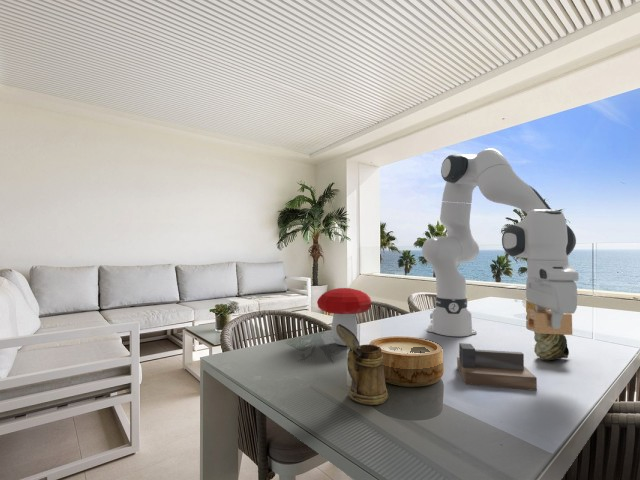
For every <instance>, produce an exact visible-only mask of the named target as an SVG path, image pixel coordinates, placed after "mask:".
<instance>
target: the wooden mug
mask: <svg viewBox="0 0 640 480" xmlns="http://www.w3.org/2000/svg"><path fill="white" fill-rule="evenodd" d="M336 331H337V334H338V336H339V337H340V338H341V340H342V341H343V342H344V343H345V344H346V345H345V346H347V348H349V350H348V353H347V358H346V359H347V361H346V366H347V371H348V373H349V377H350V378H351V384H350V386H349V391H348V397H349V399H351V400H352V401H354V402H355V403H356V404H360V405H364V406H378V405H382V404H384V403H385V402H387V401H388V399H389V392H388V389H387V387H386V379H385V377H386V376H385V372H384V362H385V361H384V355H383V353H382V348H381V347H380V346H379V345H376V344H375V345H374V344H361V345H360V341H359V339H358V336H357V337H356V336H355V335H354V334H353V333H352V332H351V331H350V330H349V329H347V328H346V327H344V326H342V325H341V324H338V325H337V326H336Z"/></svg>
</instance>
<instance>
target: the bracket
mask: <svg viewBox="0 0 640 480" xmlns="http://www.w3.org/2000/svg"><path fill="white" fill-rule="evenodd" d="M458 345H459V347H458V348H459V349H458V351H459V355H458V356H457V357H456V360H457V361H456V365H457V367H456V368H457V370H458V372H459V374H460V376H461V378H462V379H463V382H464V383H465V385H469V386H481V387H492V388H506V389H507V388H508V389H517V390H528V391H529V390H531V391H537V390H538V386H537V385H538V384H537V383H538V381H537V377H536V375H535V374H533V373H532V372H531V371H530V370H529V369H528V368H527V367H525V360H524V359H525V357H524V353H523V352H522V351H509V350H507V351H505V350H494V349H493V350H490V349H476V348H475V347H474V346H473V344H472V343H466V342H465V343H463V342H459V344H458Z"/></svg>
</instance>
